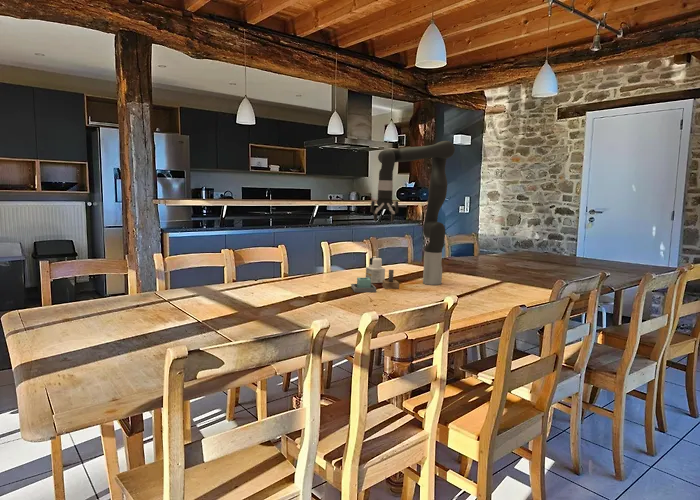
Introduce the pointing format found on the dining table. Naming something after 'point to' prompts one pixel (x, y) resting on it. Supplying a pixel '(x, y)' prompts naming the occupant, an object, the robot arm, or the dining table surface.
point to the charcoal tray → (355, 289)
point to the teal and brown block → (390, 282)
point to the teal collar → (363, 283)
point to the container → (375, 270)
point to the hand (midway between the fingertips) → (384, 221)
